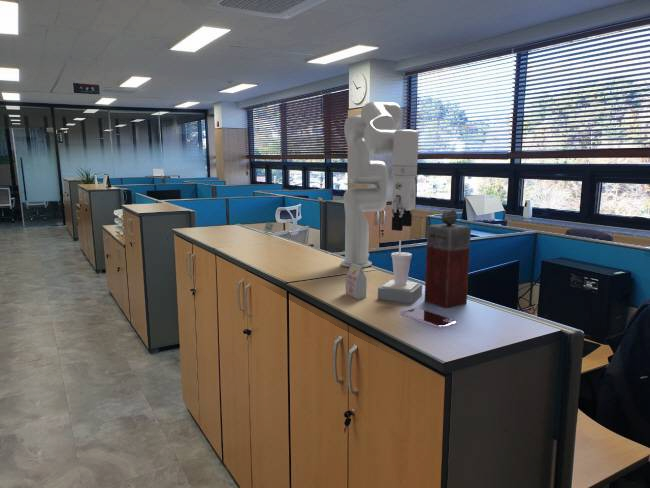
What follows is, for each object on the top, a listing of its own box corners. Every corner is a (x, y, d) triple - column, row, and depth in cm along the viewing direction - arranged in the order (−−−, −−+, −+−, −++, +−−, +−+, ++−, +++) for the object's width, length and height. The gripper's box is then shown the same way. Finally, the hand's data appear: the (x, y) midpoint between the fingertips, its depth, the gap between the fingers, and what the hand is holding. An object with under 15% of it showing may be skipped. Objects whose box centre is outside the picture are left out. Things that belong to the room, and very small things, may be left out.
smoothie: (393, 280, 153) (394, 237, 150) (412, 282, 150) (414, 239, 148) (387, 285, 147) (389, 240, 145) (408, 287, 144) (410, 242, 142)
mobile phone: (417, 306, 136) (459, 320, 124) (417, 310, 137) (459, 324, 125) (398, 311, 132) (440, 326, 120) (398, 314, 132) (440, 330, 120)
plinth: (388, 290, 156) (389, 278, 155) (421, 294, 151) (422, 282, 151) (377, 299, 146) (378, 286, 146) (412, 303, 142) (413, 290, 141)
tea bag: (355, 292, 154) (356, 262, 152) (366, 297, 148) (366, 266, 146) (345, 293, 152) (345, 263, 150) (355, 299, 146) (356, 267, 144)
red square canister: (439, 294, 151) (443, 207, 147) (467, 303, 142) (472, 210, 137) (418, 299, 146) (422, 208, 142) (446, 308, 137) (451, 212, 133)
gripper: (408, 173, 133) (405, 233, 137) (423, 171, 149) (420, 225, 152) (382, 172, 136) (380, 231, 140) (400, 170, 152) (398, 223, 155)
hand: (401, 228), depth 146 cm, fingers open, 9 cm apart
